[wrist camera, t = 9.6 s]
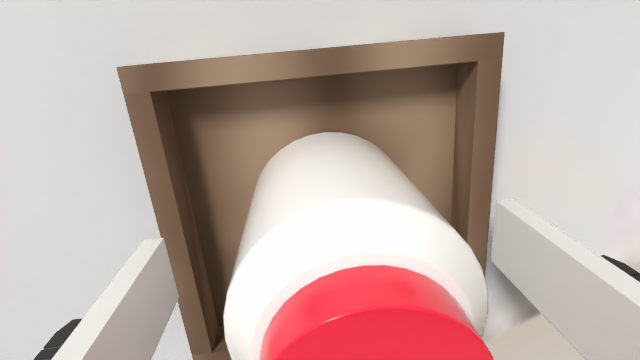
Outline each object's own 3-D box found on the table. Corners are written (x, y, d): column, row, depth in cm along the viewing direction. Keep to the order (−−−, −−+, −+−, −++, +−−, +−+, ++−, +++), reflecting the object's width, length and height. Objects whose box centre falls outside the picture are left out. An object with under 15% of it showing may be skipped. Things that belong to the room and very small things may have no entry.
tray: (206, 335, 21) (196, 370, 19) (141, 64, 16) (116, 67, 14) (459, 303, 22) (480, 334, 20) (474, 34, 17) (504, 32, 14)
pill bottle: (354, 293, 20) (420, 546, 10) (225, 236, 19) (144, 471, 8) (435, 177, 18) (621, 344, 8) (299, 101, 17) (312, 188, 6)
